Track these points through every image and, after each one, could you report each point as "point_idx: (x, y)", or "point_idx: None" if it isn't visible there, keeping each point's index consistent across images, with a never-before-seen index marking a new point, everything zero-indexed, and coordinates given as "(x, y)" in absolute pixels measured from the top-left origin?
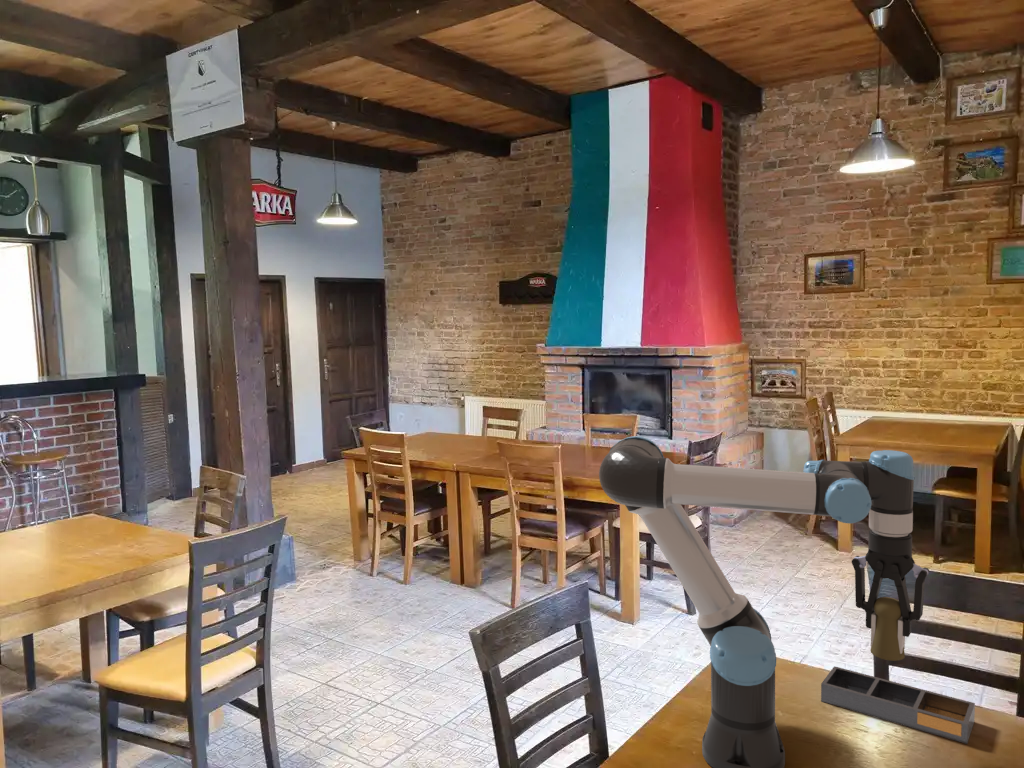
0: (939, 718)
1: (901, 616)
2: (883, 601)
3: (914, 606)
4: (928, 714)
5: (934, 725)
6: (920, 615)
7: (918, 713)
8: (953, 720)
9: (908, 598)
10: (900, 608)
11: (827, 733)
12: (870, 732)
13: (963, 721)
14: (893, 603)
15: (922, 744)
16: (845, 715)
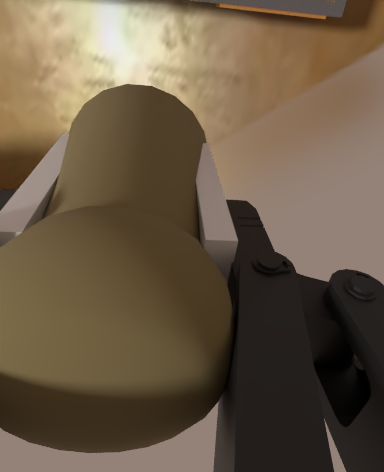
0: (274, 11)
1: (209, 251)
2: (64, 445)
3: (344, 448)
4: (247, 6)
5: (257, 11)
6: (358, 367)
7: (221, 6)
8: (309, 13)
9: (319, 425)
10: (218, 405)
11: (49, 139)
12: (121, 84)
13: (334, 4)
14: (158, 438)
15: (226, 76)
16: (46, 28)
